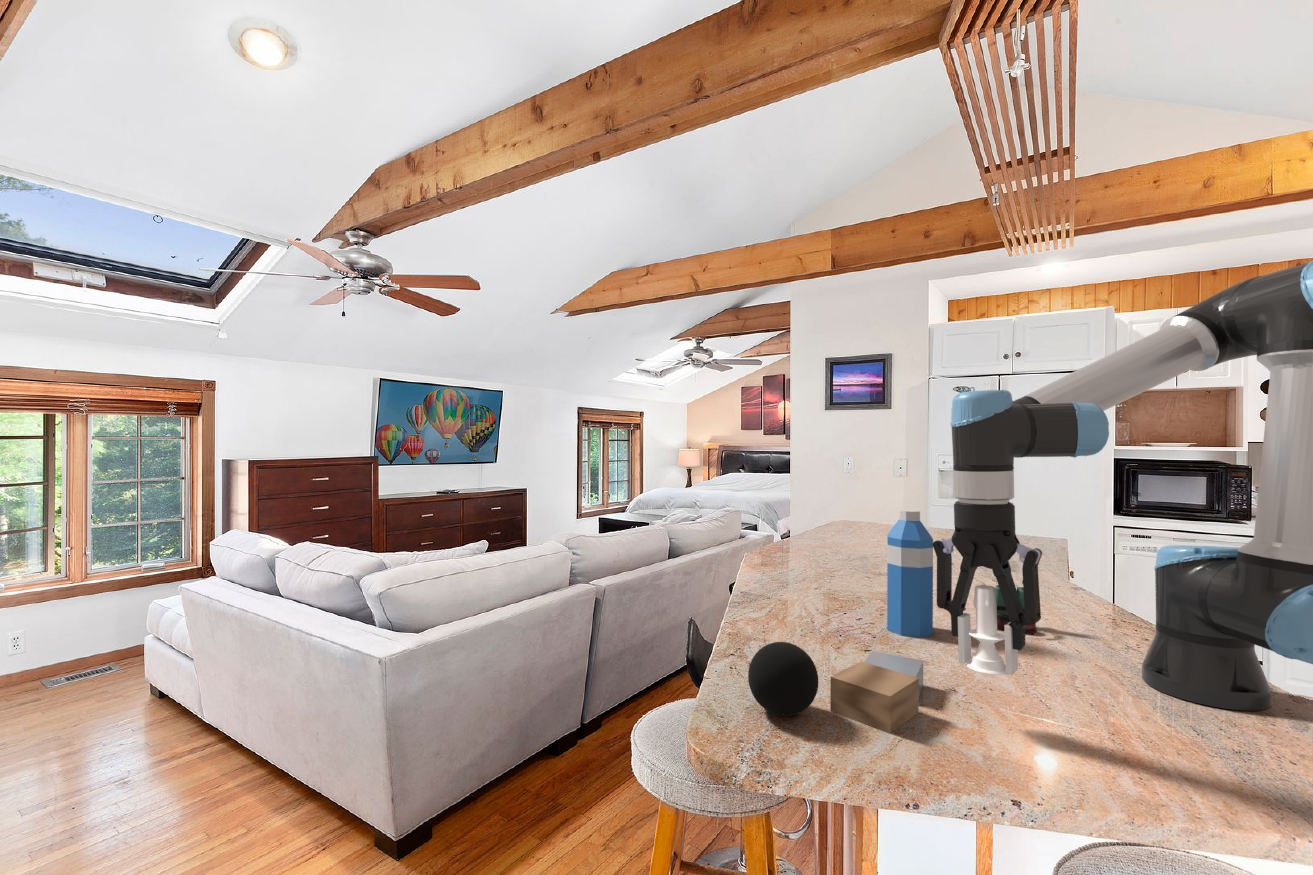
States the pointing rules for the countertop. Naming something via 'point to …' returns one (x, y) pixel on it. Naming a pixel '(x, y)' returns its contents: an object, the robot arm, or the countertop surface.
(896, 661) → the slate block
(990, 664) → the candle
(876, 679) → the walnut block
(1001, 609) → the binoculars
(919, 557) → the water bottle
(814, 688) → the decorative ball
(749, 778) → the countertop surface
